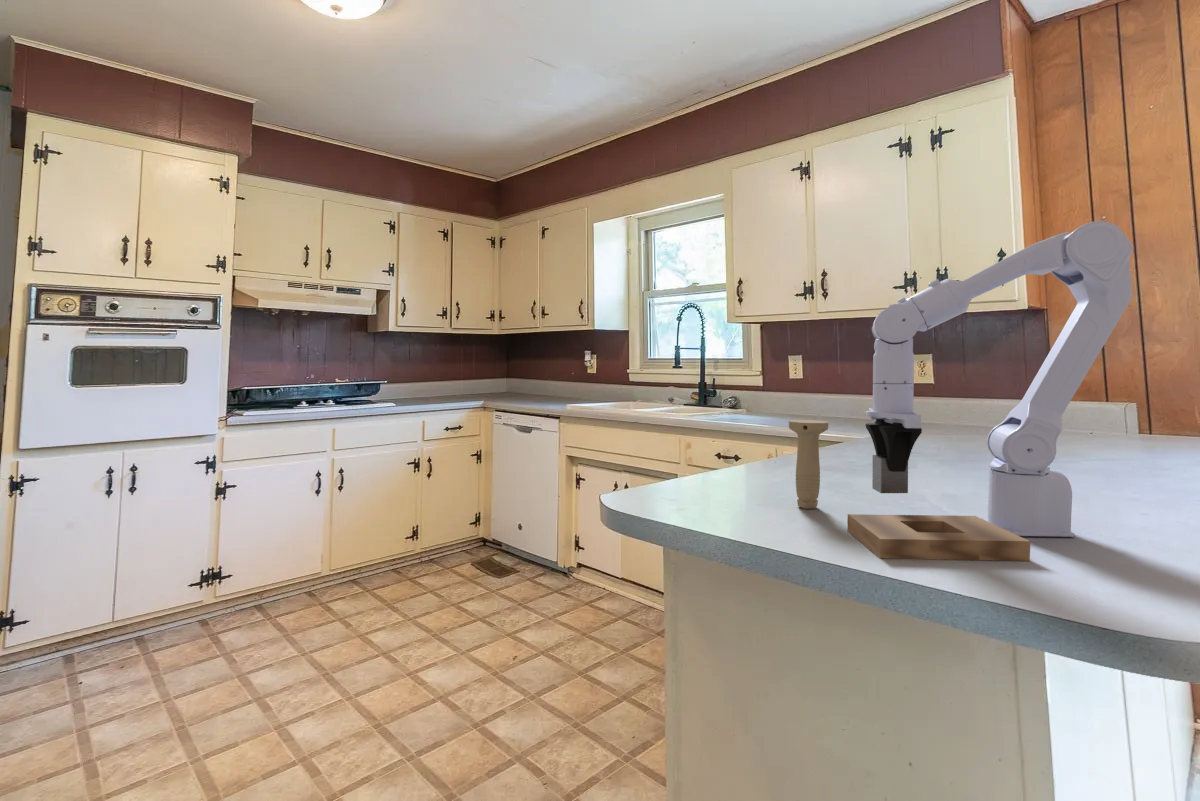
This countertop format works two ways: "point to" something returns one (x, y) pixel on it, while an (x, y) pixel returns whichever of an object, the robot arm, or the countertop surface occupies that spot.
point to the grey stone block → (888, 477)
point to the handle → (808, 460)
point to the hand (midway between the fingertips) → (891, 468)
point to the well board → (937, 537)
